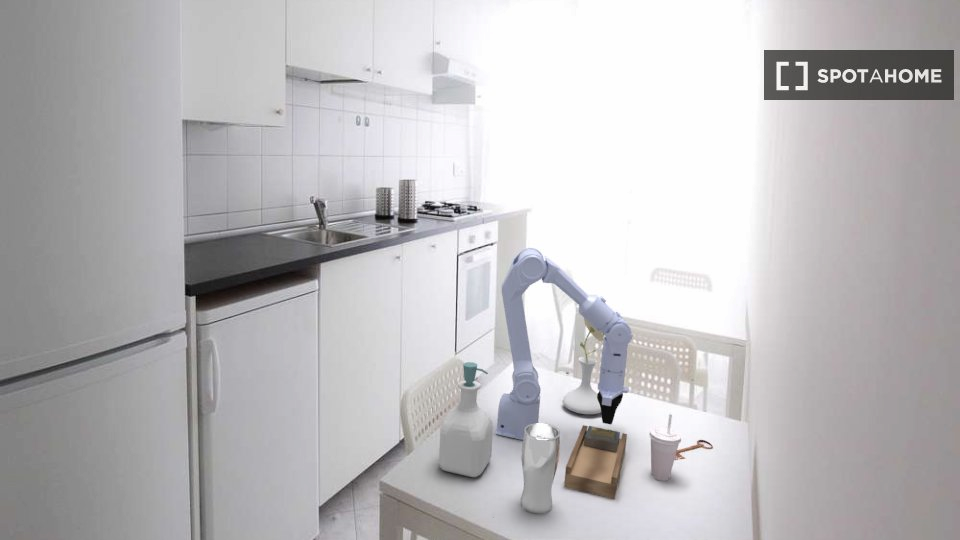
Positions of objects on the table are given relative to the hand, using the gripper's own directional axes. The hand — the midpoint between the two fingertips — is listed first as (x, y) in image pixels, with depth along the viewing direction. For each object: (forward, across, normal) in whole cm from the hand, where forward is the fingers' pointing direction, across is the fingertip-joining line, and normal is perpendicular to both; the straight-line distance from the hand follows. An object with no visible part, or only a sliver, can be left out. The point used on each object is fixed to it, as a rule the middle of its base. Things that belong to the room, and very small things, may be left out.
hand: (607, 422), depth 135 cm
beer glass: (+4, -33, +9) cm, 34 cm away
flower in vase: (+4, +15, +8) cm, 18 cm away
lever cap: (+1, -9, 0) cm, 9 cm away
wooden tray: (+4, -15, 0) cm, 16 cm away
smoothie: (+4, -12, -13) cm, 18 cm away
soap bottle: (+4, -26, +26) cm, 37 cm away
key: (+5, +2, -19) cm, 20 cm away
